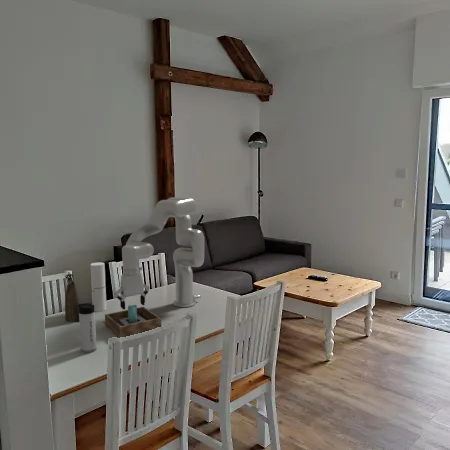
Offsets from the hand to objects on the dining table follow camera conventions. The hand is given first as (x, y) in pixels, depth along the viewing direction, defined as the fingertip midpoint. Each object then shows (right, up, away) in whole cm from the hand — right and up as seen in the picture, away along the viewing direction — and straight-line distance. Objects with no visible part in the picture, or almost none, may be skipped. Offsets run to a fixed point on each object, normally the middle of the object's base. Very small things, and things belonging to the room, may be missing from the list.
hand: (133, 306), depth 207 cm
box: (0, -11, +1) cm, 11 cm away
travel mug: (-14, -14, -23) cm, 30 cm away
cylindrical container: (-24, -7, +28) cm, 38 cm away
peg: (0, -10, +1) cm, 10 cm away
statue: (-33, -9, +13) cm, 36 cm away
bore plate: (0, -11, +1) cm, 11 cm away
